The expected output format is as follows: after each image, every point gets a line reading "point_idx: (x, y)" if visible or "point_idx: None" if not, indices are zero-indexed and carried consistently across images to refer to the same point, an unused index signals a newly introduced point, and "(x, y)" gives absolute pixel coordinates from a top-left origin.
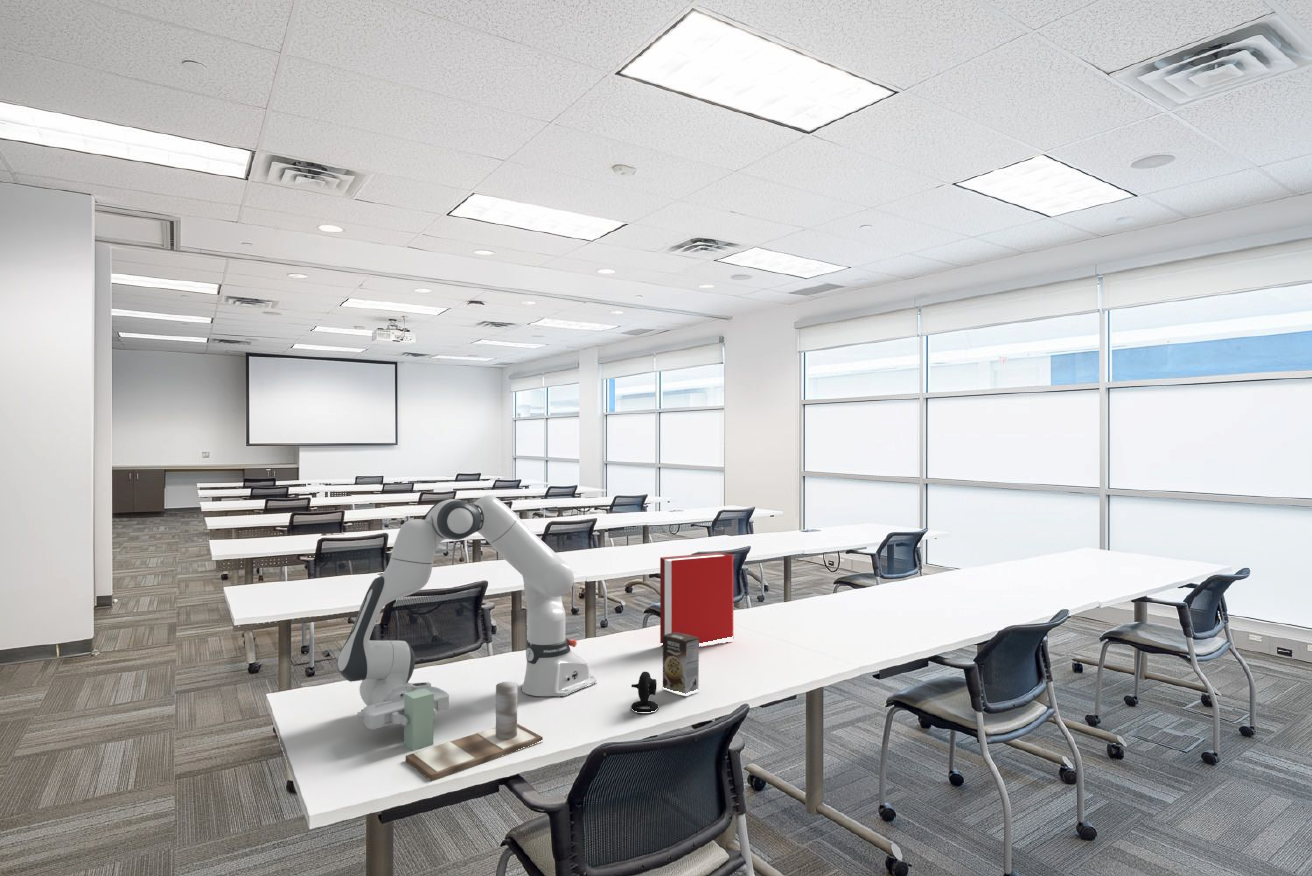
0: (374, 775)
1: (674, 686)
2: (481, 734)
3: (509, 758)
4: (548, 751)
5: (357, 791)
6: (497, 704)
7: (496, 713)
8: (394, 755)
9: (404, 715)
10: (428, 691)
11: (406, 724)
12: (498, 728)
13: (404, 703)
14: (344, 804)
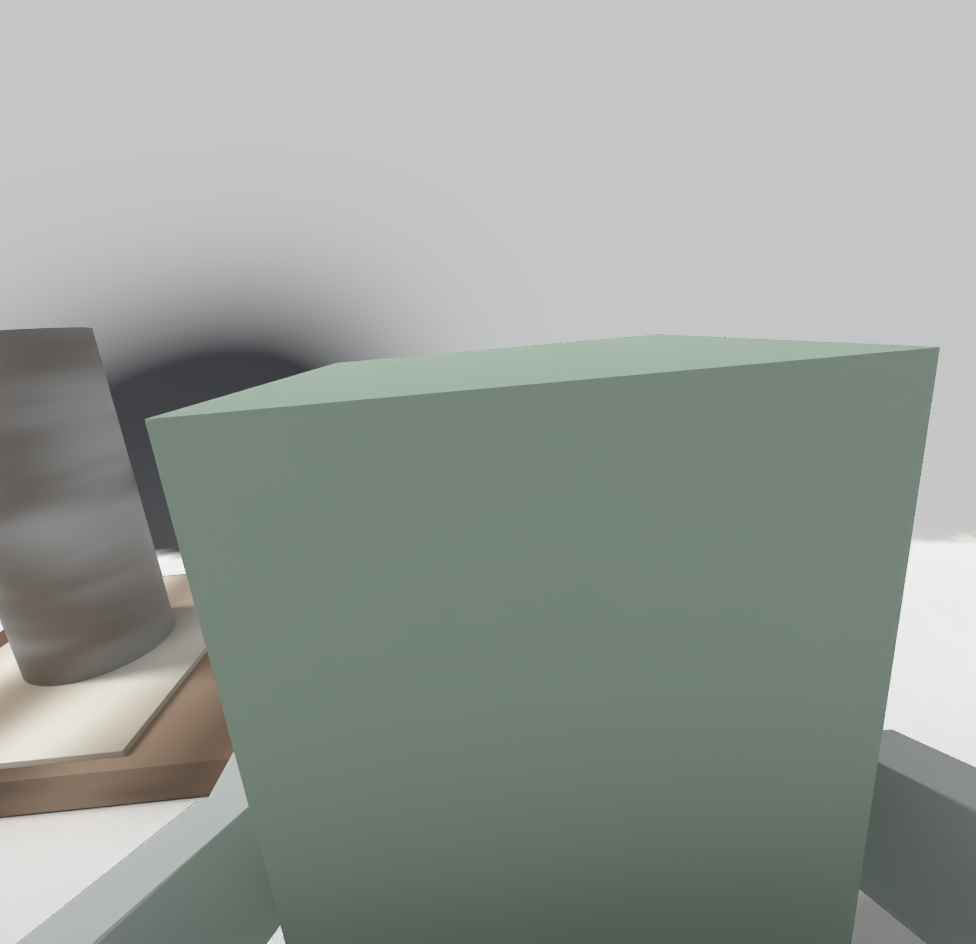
0: (923, 674)
1: None
2: (136, 716)
3: None
4: (166, 561)
5: (952, 591)
6: (109, 442)
7: (117, 506)
8: (860, 913)
9: None
10: (313, 372)
11: None
12: (156, 575)
13: (884, 659)
14: (962, 548)
